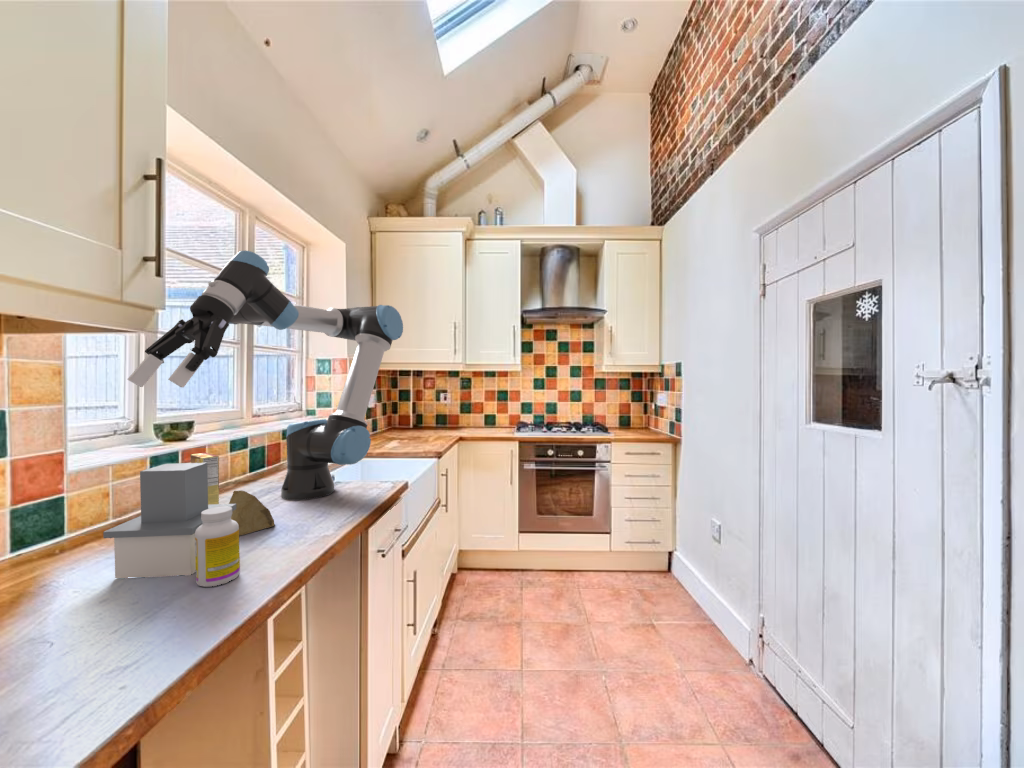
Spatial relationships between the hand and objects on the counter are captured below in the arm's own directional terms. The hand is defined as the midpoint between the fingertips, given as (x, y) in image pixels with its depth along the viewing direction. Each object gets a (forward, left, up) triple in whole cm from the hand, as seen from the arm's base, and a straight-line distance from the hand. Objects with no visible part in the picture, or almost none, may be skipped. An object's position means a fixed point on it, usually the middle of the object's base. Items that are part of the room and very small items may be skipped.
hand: (154, 383), depth 83 cm
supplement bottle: (+8, +16, -36) cm, 40 cm away
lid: (0, +3, -28) cm, 28 cm away
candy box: (-35, -12, -36) cm, 52 cm away
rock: (-16, +9, -36) cm, 41 cm away
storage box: (0, +3, -36) cm, 36 cm away
